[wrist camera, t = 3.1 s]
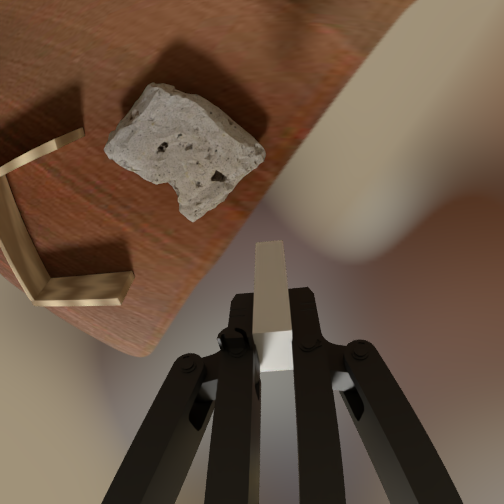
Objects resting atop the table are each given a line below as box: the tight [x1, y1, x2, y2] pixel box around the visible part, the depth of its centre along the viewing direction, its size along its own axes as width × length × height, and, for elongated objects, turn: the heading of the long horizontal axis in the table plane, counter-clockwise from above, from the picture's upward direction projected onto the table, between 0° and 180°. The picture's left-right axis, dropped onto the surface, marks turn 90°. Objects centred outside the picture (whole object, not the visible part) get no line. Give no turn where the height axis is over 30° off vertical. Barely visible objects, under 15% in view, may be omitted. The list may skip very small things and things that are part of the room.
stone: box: [104, 82, 266, 222], centre depth 23 cm, size 13×6×10 cm
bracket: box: [0, 127, 135, 306], centre depth 27 cm, size 16×19×5 cm
